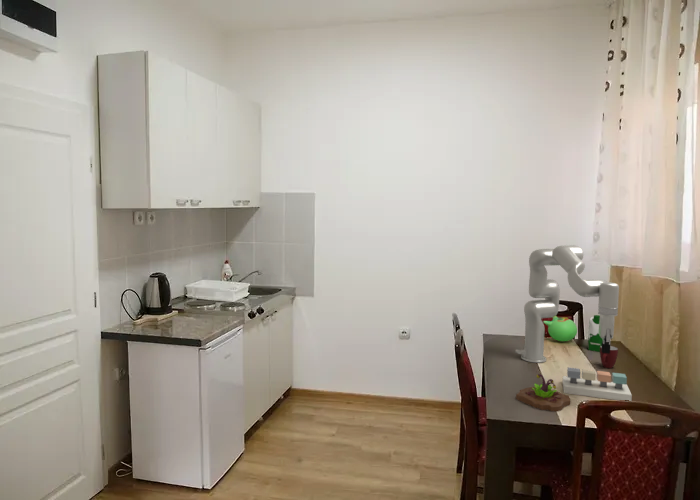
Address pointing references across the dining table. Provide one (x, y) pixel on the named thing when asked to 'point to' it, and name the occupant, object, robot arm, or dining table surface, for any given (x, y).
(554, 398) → the plant
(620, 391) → the keypad base
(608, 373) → the key
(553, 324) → the toy bird
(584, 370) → the key
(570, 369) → the key
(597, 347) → the milk carton
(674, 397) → the dining table surface
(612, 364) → the mug
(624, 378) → the key
